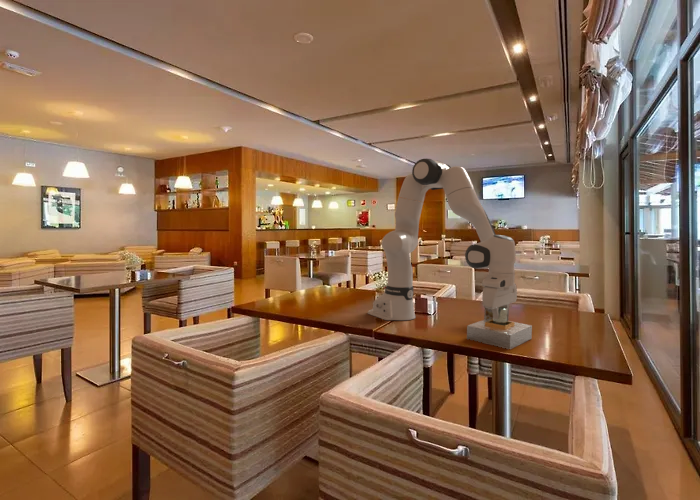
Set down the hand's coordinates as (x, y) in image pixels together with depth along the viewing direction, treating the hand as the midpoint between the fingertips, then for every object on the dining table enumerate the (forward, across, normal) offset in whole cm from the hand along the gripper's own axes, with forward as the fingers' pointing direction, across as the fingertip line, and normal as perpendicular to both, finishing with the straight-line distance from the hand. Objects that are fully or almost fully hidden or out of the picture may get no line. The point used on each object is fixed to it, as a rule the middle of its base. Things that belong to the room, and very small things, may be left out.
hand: (499, 317), depth 141 cm
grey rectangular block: (+8, 0, 0) cm, 8 cm away
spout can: (+6, 0, -1) cm, 6 cm away
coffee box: (+8, -17, -9) cm, 21 cm away
